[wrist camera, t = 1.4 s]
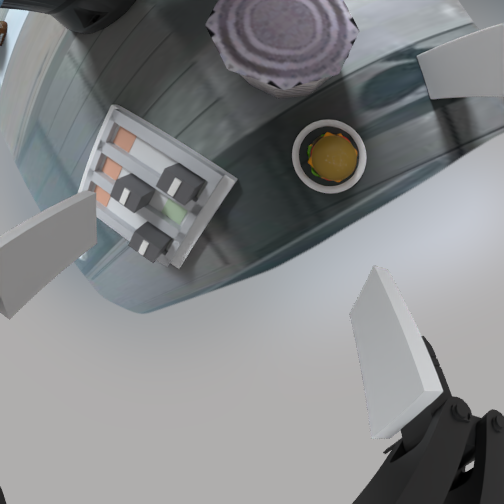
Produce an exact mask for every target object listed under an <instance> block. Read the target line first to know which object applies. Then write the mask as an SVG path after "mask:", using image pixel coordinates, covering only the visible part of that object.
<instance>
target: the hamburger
mask: <svg viewBox="0 0 504 504" xmlns="http://www.w3.org/2000/svg"><path fill="white" fill-rule="evenodd" d="M324 126H332V127H337V128H340V129H342V130H344V131H346V132H347V133H348V134H349V135H350V136H351V137H352V138H353V139H354V141H355V143H356V144H357V147H358V150H359V164H358V168H357V170H356V172H355V173H354V175H353V176H352V177H351V178H350V179H349V180H348V181H346V182H344V183H343V184H340V185H337V186H324V185H320V184H318V183H316V182H314V181H312V180H311V179H310V178H308V176H307V175H306V174H305V173H304V171H303V170H302V168H301V165H300V161H299V149H300V145H301V143H302V141H303V139H304V138H305V137H306V135H307V134H309V133H310V132H311V131H313V130H314V129H316V128H319V127H324ZM308 148H309V149H308V152H307V156H309V159H308V160H309V161H308V163H309V164H310V165H311V167H312V171H311V172H312V173H313V174H314V175H315V176H318V177H321V178H322V179H323V178H324V179H325V180H328V181H336V182H340V181H342V180H343V179H345V178H347V177H348V176H350V175H351V174H352V172H353V171H354V169H355V167H356V163H357V153H358V152H357V151H356V149H355V148H354V147H353V145H352V143H351V142H350V141H349V140H348V139H347V138H346V137H343V135H342V134H341V133H340V134H332V133H329V132H326V134H322V135H321V136H319V137H318V138H316V139H315V140H314V141H313V143H312V144H311V145H309V146H308ZM366 159H367V156H366V149H365V146H364V143H363V141H362V139H361V137H360V136H359V135H358V133H357V132H356V131H355V130H354V129H353V128H351V127H350V126H349V125H347V124H345V123H343V122H340V121H337V120H329V119H327V120H319V121H316V122H313V123H311V124H309V125H308V126H306V127H305V128H304V129H303V130H302V131H301V132H300V133H299V135H298V136H297V138H296V140H295V142H294V145H293V149H292V161H293V166H294V168H295V171H296V173H297V175H298V176H299V178H300V179H301V180H302V181H303V182H304V183H305V184H306V185H307V186H309V187H310V188H312V189H314V190H316V191H319V192H322V193H339V192H342V191H345V190H347V189H349V188H351V187H352V186H353V185H354V184H356V183H357V181H358V180H359V179H360V178H361V176H362V174H363V172H364V170H365V166H366Z"/></svg>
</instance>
